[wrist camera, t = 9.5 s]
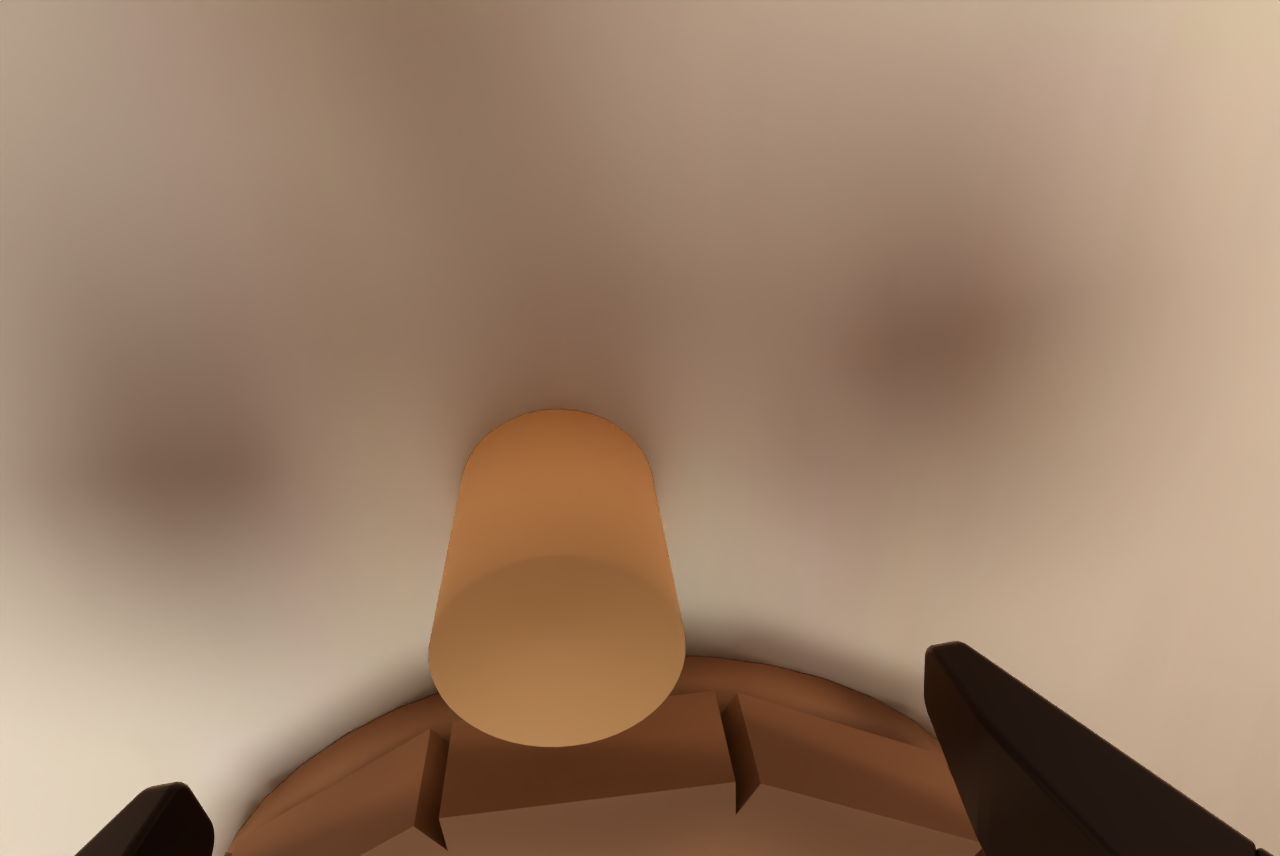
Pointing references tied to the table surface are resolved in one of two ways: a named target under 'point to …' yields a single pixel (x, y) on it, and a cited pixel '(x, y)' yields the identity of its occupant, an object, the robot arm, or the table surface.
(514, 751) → the groove tray
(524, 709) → the bead
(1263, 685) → the table surface
